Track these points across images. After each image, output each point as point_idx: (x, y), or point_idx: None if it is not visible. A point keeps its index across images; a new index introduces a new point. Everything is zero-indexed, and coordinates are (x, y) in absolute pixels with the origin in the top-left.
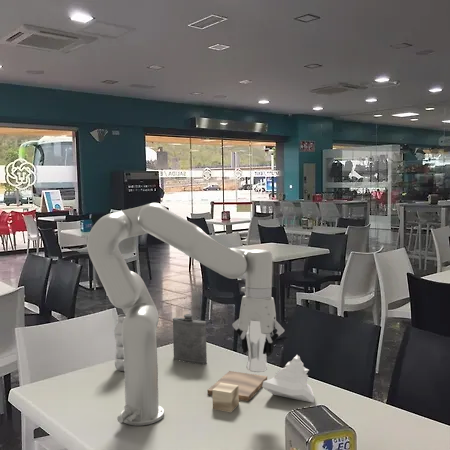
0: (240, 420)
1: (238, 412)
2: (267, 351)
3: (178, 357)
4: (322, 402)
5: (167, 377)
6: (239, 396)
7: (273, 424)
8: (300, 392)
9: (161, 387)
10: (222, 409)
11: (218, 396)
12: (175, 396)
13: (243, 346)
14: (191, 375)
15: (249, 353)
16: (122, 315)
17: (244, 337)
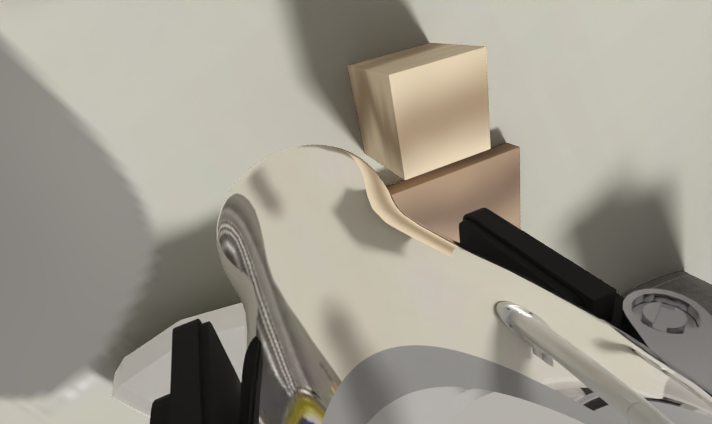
0: (259, 14)
1: (319, 84)
2: (185, 367)
3: (680, 278)
4: (83, 401)
5: (664, 161)
6: (390, 192)
7: (89, 79)
8: (135, 360)
9: (658, 83)
10: (389, 55)
11: (438, 54)
12: (595, 50)
13: (529, 240)
14: (607, 224)
15: (404, 218)
16: None
17: (635, 328)
